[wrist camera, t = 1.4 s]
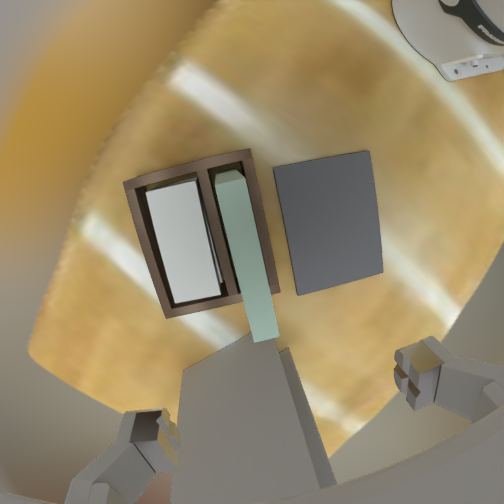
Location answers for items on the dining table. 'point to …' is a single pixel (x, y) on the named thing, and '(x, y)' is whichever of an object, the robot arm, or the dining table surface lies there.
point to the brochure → (246, 429)
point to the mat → (330, 220)
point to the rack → (230, 284)
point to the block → (246, 253)
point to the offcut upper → (184, 240)
